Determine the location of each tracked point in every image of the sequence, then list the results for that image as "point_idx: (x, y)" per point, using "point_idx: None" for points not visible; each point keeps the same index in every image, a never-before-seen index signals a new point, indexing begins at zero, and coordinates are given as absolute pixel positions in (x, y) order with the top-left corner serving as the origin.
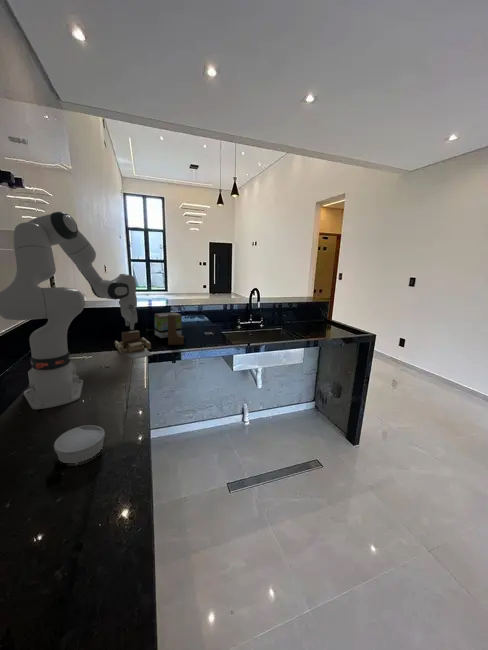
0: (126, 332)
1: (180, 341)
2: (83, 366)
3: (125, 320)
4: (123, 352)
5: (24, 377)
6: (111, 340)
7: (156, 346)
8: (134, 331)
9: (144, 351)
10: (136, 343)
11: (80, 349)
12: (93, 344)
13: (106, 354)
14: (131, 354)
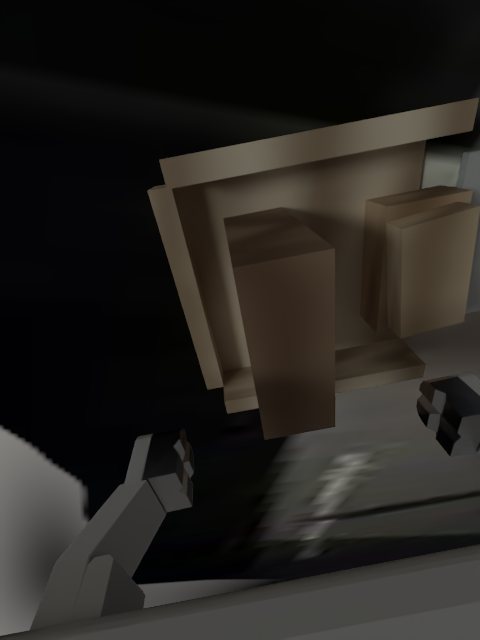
0: (301, 401)
1: None
2: (455, 464)
3: (135, 564)
4: (386, 337)
5: (431, 549)
6: (58, 404)
7: (368, 10)
8: (290, 319)
9: (476, 191)
10: (436, 271)
11: (217, 499)
12: None
13: (355, 410)
14: (469, 293)
